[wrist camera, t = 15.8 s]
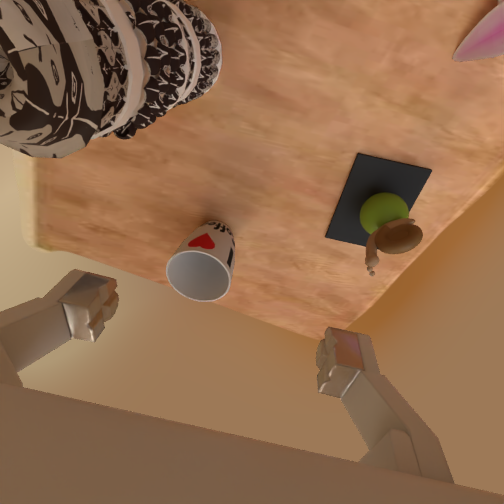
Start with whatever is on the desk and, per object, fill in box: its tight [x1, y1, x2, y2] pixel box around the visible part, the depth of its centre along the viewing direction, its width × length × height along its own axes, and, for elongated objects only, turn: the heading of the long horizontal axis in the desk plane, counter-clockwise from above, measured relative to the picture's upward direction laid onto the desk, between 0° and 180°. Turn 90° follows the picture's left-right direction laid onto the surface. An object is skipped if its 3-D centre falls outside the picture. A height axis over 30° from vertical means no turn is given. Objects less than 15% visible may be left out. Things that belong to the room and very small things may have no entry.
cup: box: [166, 221, 235, 302], centre depth 40 cm, size 8×8×10 cm
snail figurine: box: [360, 192, 423, 276], centre depth 33 cm, size 5×6×12 cm
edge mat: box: [325, 153, 432, 249], centre depth 38 cm, size 12×9×1 cm
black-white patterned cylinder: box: [0, 0, 222, 158], centre depth 21 cm, size 9×9×25 cm
